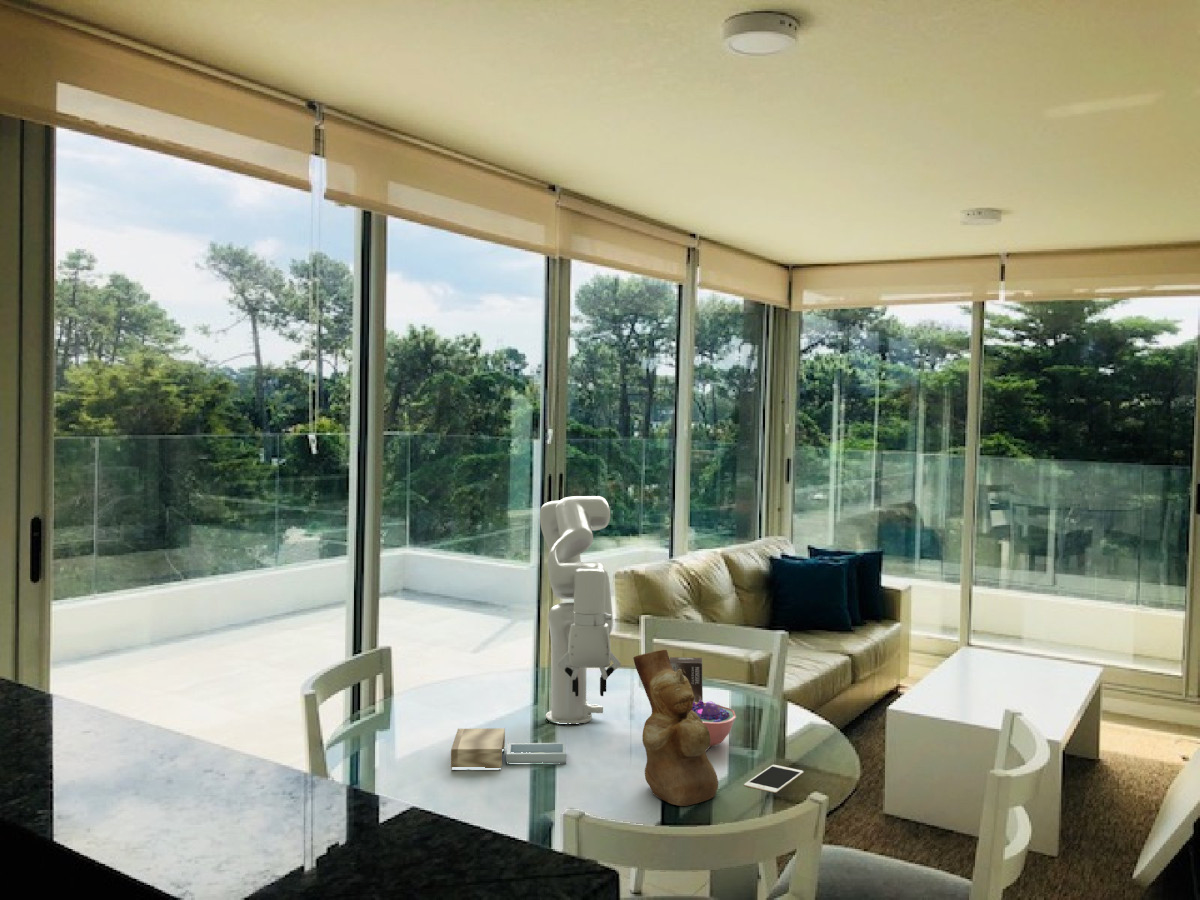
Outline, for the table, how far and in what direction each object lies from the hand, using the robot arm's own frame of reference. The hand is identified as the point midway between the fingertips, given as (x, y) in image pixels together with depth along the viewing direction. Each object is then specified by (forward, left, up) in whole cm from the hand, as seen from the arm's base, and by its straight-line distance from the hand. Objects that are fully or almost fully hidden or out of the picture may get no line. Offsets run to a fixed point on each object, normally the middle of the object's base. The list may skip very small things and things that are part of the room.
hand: (589, 694), depth 235 cm
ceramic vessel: (-17, +21, -16) cm, 32 cm away
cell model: (-27, -10, -16) cm, 33 cm away
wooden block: (+26, 0, -15) cm, 30 cm away
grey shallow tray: (+13, 0, -15) cm, 20 cm away
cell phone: (-41, +15, -16) cm, 47 cm away
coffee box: (-27, -32, -16) cm, 45 cm away
